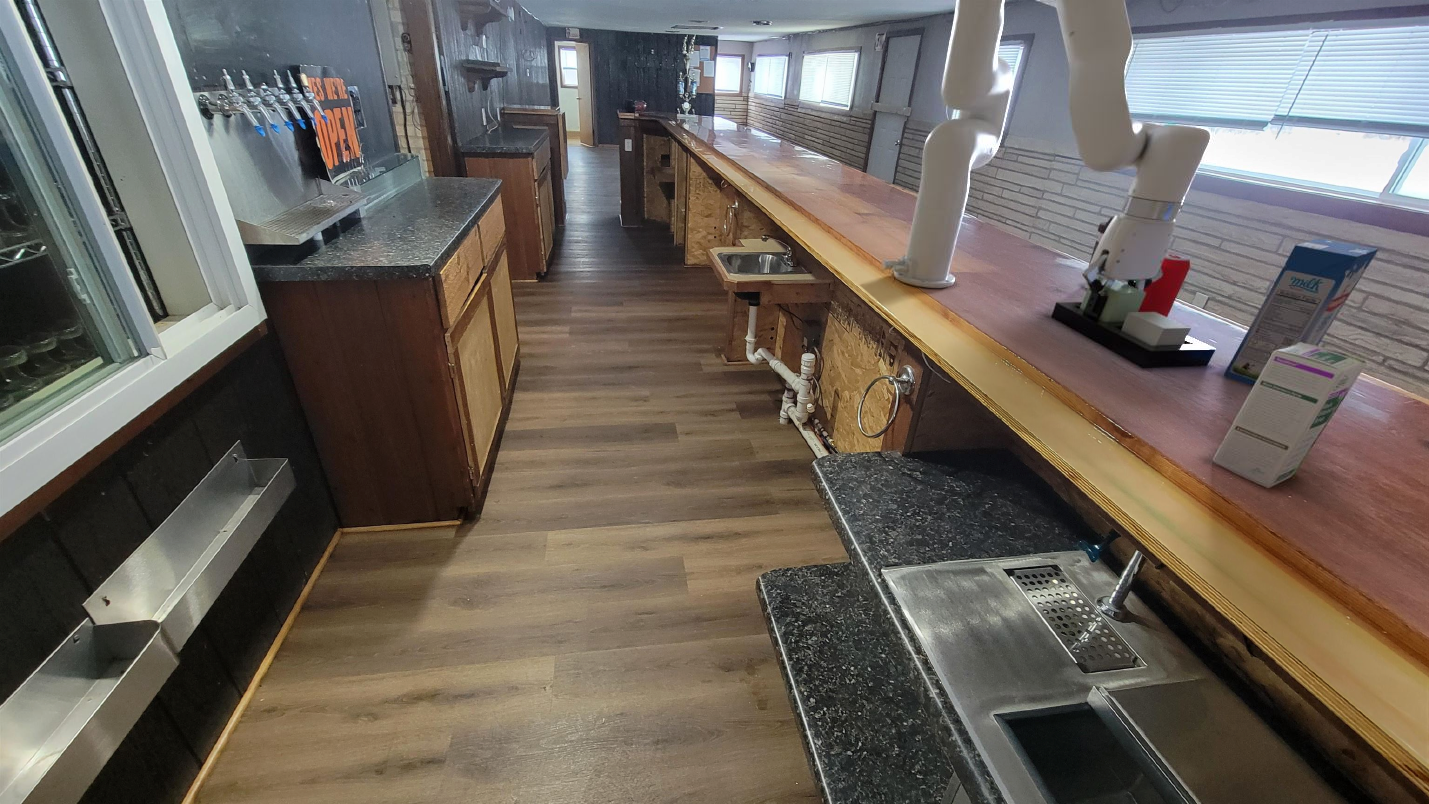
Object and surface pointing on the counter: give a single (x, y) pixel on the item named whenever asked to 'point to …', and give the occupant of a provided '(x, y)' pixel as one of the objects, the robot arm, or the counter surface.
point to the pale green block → (1118, 302)
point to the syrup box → (1287, 412)
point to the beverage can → (1166, 284)
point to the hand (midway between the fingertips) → (1106, 313)
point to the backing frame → (1131, 341)
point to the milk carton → (1300, 302)
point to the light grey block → (1155, 328)
